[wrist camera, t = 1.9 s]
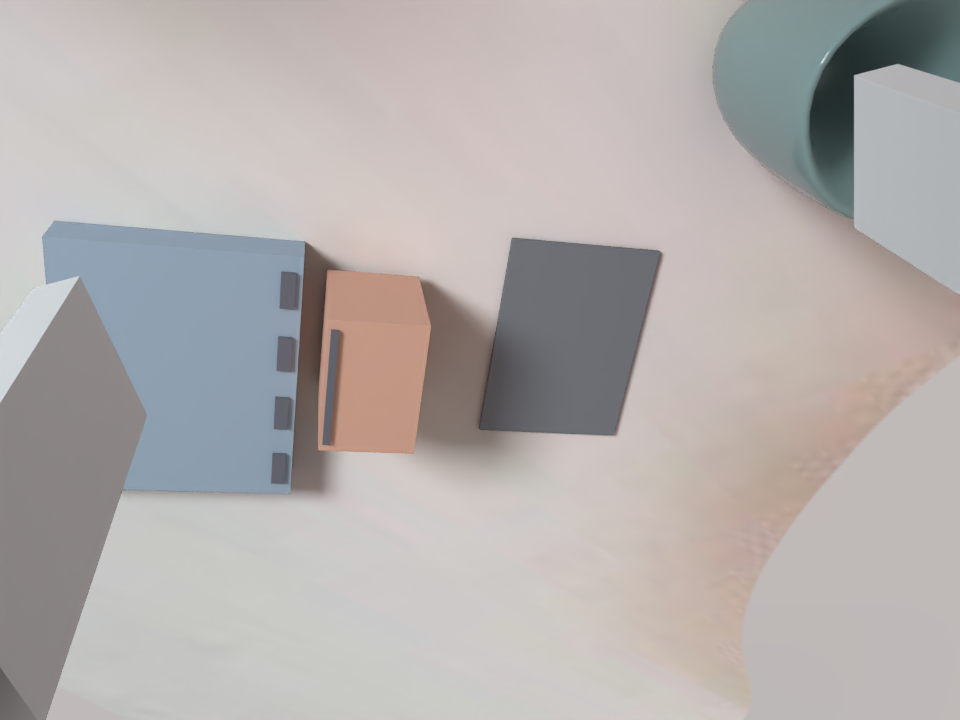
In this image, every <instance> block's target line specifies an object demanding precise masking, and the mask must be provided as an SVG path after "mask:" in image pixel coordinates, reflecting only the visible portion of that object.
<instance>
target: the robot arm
mask: <svg viewBox="0 0 960 720" xmlns="http://www.w3.org/2000/svg"><path fill="white" fill-rule="evenodd" d="M854 228H855V229H857V230H858V231H860V232H862V233H863V234H865V235H866V236H868V237H869V238H871V239H872V240H874V241H876V242H877V243H879V244H880V245H882V246H883V247H885V248H886V249H888V250H890V251H891V252H893V253H894V254H896V255H897V256H899V257H900V258H902V259H904V260H905V261H907V262H908V263H910V264H911V265H913V266H914V267H916V268H918V269H919V270H921V271H922V272H924V273H925V274H927V275H928V276H930V277H932V278H933V279H935V280H936V281H938V282H939V283H941V284H943V285H944V286H946V287H947V288H949V289H950V290H952V291H953V292H955V293H957V294H958V295H960V83H958V82H955V81H952V80H949V79H945V78H942V77H939V76H936V75H932V74H929V73H926V72H923V71H920V70H916V69H913V68H910V67H907V66H903V65H900V64H895V65H892V66H888V67H884V68H880V69H876V70H872V71H868V72H865V73H861V74H857V75H854ZM146 418H147V413H146V411H145V409H144V407H143V405H142V403H141V401H140V399H139V397H138V395H137V393H136V391H135V389H134V386H133V384H132V382H131V380H130V378H129V376H128V374H127V372H126V370H125V368H124V366H123V364H122V362H121V360H120V358H119V355H118V353H117V351H116V349H115V347H114V345H113V343H112V341H111V339H110V337H109V335H108V333H107V331H106V329H105V327H104V325H103V322H102V320H101V318H100V316H99V314H98V312H97V310H96V308H95V306H94V304H93V302H92V300H91V298H90V296H89V294H88V292H87V289H86V287H85V285H84V283H83V281H82V279H81V277H80V276H77V277H73V278H70V279H66V280H62V281H58V282H54V283H50V284H46V285H43V286H39V287H35V288H33V289H32V290H31V292H30V293H29V294H28V296H27V297H26V299H25V300H24V301H23V303H22V304H21V306H20V307H19V308H18V310H17V311H16V312H15V314H14V315H13V317H12V318H11V319H10V321H9V322H8V323H7V325H6V326H5V328H4V329H3V330H2V332H1V333H0V720H46V717H47V714H48V711H49V708H50V705H51V702H52V699H53V696H54V693H55V690H56V687H57V684H58V681H59V678H60V675H61V672H62V669H63V666H64V663H65V660H66V657H67V654H68V651H69V648H70V645H71V643H72V640H73V637H74V634H75V631H76V628H77V625H78V622H79V619H80V616H81V613H82V610H83V607H84V604H85V601H86V598H87V595H88V592H89V589H90V586H91V583H92V580H93V577H94V574H95V571H96V568H97V565H98V562H99V559H100V556H101V553H102V550H103V547H104V544H105V541H106V538H107V535H108V532H109V529H110V526H111V523H112V520H113V517H114V514H115V511H116V508H117V505H118V502H119V499H120V496H121V493H122V490H123V487H124V484H125V481H126V478H127V475H128V472H129V469H130V466H131V463H132V460H133V457H134V454H135V451H136V448H137V445H138V442H139V439H140V436H141V433H142V430H143V427H144V424H145V421H146Z"/></svg>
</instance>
